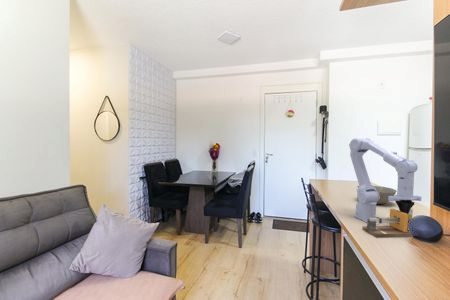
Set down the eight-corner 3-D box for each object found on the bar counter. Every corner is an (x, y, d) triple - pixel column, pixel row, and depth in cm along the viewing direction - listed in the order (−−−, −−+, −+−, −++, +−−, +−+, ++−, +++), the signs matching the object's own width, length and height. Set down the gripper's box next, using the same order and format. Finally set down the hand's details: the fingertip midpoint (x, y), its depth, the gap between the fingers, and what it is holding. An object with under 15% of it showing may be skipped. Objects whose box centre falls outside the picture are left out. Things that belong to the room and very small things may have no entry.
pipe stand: (362, 229, 106) (362, 214, 106) (401, 228, 108) (402, 214, 108) (376, 237, 98) (377, 221, 97) (419, 236, 99) (419, 220, 99)
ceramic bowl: (382, 198, 163) (383, 185, 163) (404, 208, 140) (405, 192, 140) (350, 197, 165) (351, 184, 165) (367, 207, 143) (367, 191, 142)
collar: (389, 225, 107) (390, 208, 107) (392, 225, 107) (393, 208, 107) (403, 232, 99) (404, 214, 99) (407, 231, 99) (408, 214, 99)
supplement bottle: (399, 217, 123) (400, 200, 123) (412, 220, 120) (412, 202, 119) (399, 220, 119) (399, 202, 119) (412, 223, 116) (413, 204, 115)
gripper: (398, 189, 98) (396, 219, 98) (428, 188, 99) (427, 218, 100) (385, 185, 105) (384, 214, 105) (413, 185, 106) (412, 213, 107)
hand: (403, 216), depth 103 cm, fingers closed
